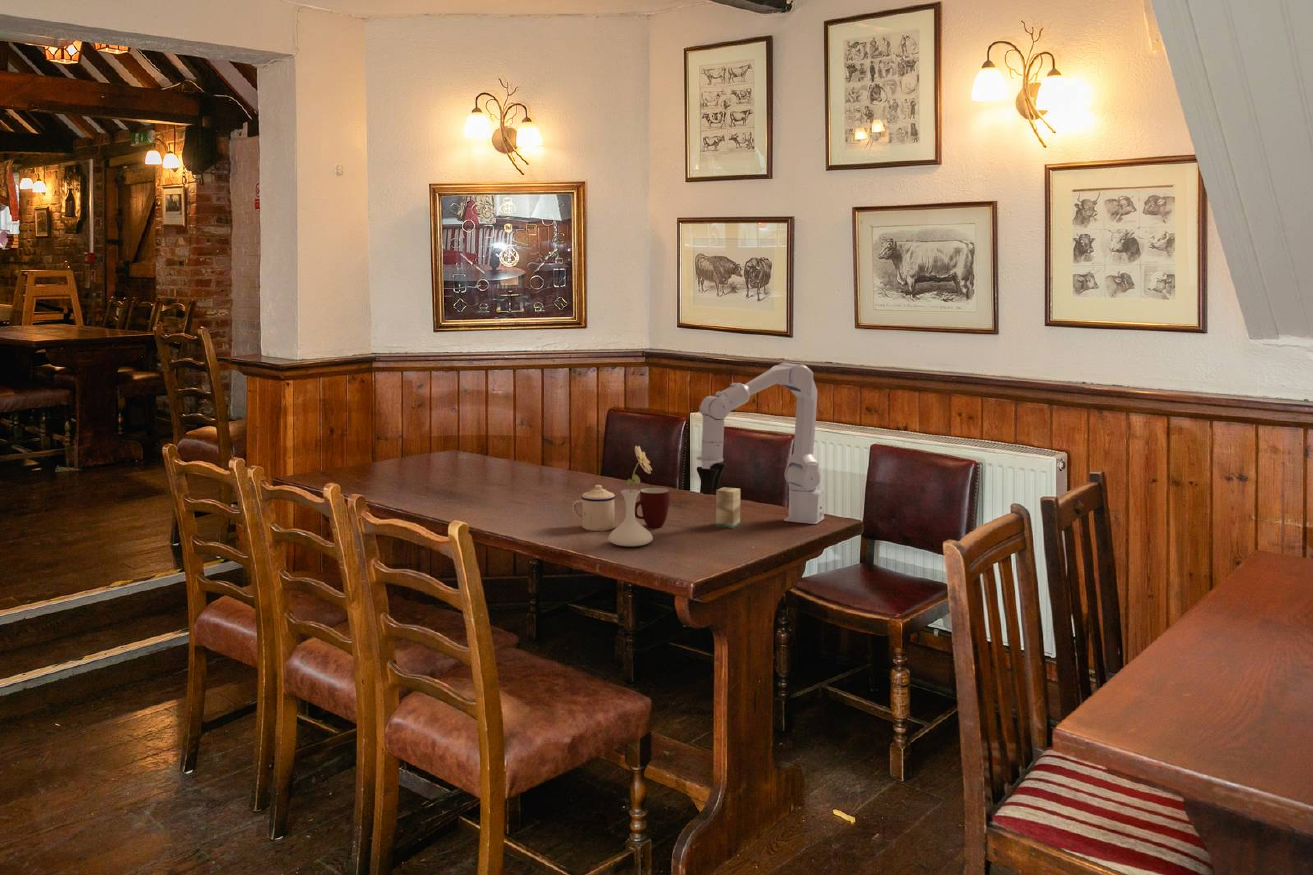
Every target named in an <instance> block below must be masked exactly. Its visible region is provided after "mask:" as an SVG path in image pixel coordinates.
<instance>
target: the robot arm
mask: <svg viewBox="0 0 1313 875" xmlns="http://www.w3.org/2000/svg"><path fill="white" fill-rule="evenodd" d="M729 385H730V386H729V387H728V388H726V389H724V390H722V391H720V390H719V391H716V392H715V395H709V396H705V397H704V398H703V400H702V401H701V404H700V405H699V406H698V409H699V412H700V414H701V415H702V432H701V433H702V435H701V452H700V453H701V455H700V456H696V460H699V461H700V462H701V466H697V467H696V472H697V475H698V477H699V479H700V486H701V491H702V494H703V495H709V496H711V495H712V493H713V491H716V490H718V488H719V484H720V482H721V481H720V480H721V477H722V474H723V472H724V469H725V468H726V466H727V464H726V463H725V462H724V458H723V454H724V434H725V419H726V418H727V417H728V416H729V413H730V412H732V411H734V410H735V409H737V408H739V407H740V406H743V405H745V404H746V403H749V401H750V397H751V396H752V395H755V394H757V393H759V392H761V391H763V390H765V389H768V388H769V387H771V386H774V385H781V386H782V387H784V388H787V389H788V390H790V391H791V393H792V394H793V395H794V396H795V397H796V409H795V410H796V411H795V422H794V423H795V427H794V441H793V453H792V454H791V456H790V457H789V458H788V460H787V461H788V462H787V465H786V467H785V471H784V479H785V480H786V482H787V483H788V488H789V489H788V493H789V494H788V516H787V517H785V518H784V519H783V521H785V522H791V523H792V522H793V523H802V524H810V525H811V524H812V525H816V524H818V523H820V522H821V521H823V520H824V519H825V494H824V491H823V490H819V489H817V488H818V486H819V484H820V483H821V479H822V477H821V473H820V470H819V461H818V460H817V459H816V457H815V455H814V451H815V438H816V437H815V435H816V421H817V407H818V406H817V403H818V389H817V387H816V386H817V385H816V383H815V381H814V372H813V371H812V369H810V368H809V367H808V366H807V365H804V364H797V363H790V362H781V363H779V364H778V365H773V366H772V367H771V368H770V369H768V370H766V371H764V372H763V373H762V374H760V375H758V376H756V377H755V378H753V379H751V380H749V381H748V382H746V383H745V384H743V383H741V382H732V383H730V384H729Z"/></svg>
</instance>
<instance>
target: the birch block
mask: <svg viewBox="0 0 1313 875" xmlns="http://www.w3.org/2000/svg"><path fill="white" fill-rule="evenodd" d="M715 492H716V493H715V494H716V495H715V496H716V497H715V498H716V499H715V501H716V502H715V504H716V505H715V509H716V511H715V527H718V528H726V527H728V529H735V528H737V527H738V526H740V525H741V488H736V487H725V486H724V487H721V488H719V489H717V490H715ZM734 527H735V528H734Z"/></svg>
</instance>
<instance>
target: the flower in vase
mask: <svg viewBox="0 0 1313 875" xmlns="http://www.w3.org/2000/svg"><path fill="white" fill-rule="evenodd" d="M634 453H635V456H636V459H637V461H638V462H637V463H636V465H635V467H634V469H633V473H632V475H631V478H628V479H627V480H626V482H625V483H624V485H626V486H630V487H629V489H623V490H620V493H621V495H622V496H623V498H624V502H625V503H624V504H625V518H624V519H623V520H624V521H623V522H622V523H621V524H619V525H618V526H617V527H616V528H614V529H613V530H612V531H611V532H610V533H609V535H608V541H609V542H610V543H611V544H614V545H615V546H620V547H640V546H645V545H647V544H650V543H652V541H653V539H654V537H653V535H652V533H651V532H650V531H649V530H648V529H647V528H645V527H644V526H643V524H641V523H640V522H638V520H637V518H636V517H635V503H636V502H637V498H638V496H639V495H640V490H639V489H632V488H633V486H634V484H635V483H636V484H637V485H639V484H640V483H641V478H640V476H638V474H635V473H636V471H637V468H638V466H639V465H640V466H641V468H642V469H643V471H644V472H645V473H647V474H648V475H650V474H652V473H651V471H653V469H652V466H651V465H650V464H651V462H650V460H649V459H648V458H647V455H646V452H645V451H642V449H641V446H640V445H638V446H637V445H635V447H634Z"/></svg>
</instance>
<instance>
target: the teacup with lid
mask: <svg viewBox="0 0 1313 875" xmlns="http://www.w3.org/2000/svg"><path fill="white" fill-rule="evenodd" d="M615 499H616V495H615V494H614V493H613V492H610V491H608V490H607V489H605V488H603V486H602V485H601V484H595V485H594V488H592V489H590V490H589V491H588V492H584V493H583V494H582V495H581V499H577V500H575V501H574V502H573V503H572V512H573V514H574V515H575V516H576V517H577V518H579V519H582V528H583V529H585V530H586V531H591V532H592V531H593V532H602V531H603V532H604V531H611V530H612V529H613V530H614V529H615ZM579 503H580V504H581V503H582V514H580V513H579V512H578V511H577V506H576V505H577V504H579Z"/></svg>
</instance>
